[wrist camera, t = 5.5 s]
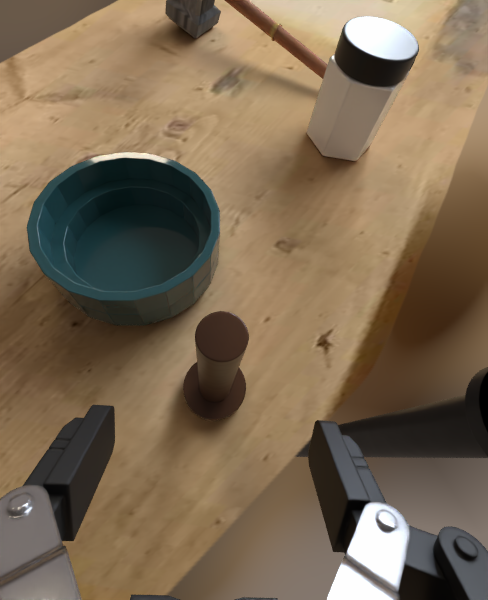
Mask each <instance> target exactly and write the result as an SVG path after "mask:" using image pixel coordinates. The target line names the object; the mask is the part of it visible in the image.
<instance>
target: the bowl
mask: <svg viewBox="0 0 488 600" xmlns="http://www.w3.org/2000/svg"><path fill="white" fill-rule="evenodd" d="M27 233H28V241H29V249H30V252H31V254H32V256H33V257H34V259H35V260H36V262H37V264H38V265H39V267H40V268H41V270H42V272H43V273H44V274H45V276H46V277H47V278H48V279H49V280H50V281H51V282H52V284H53V285H54V286H55V287H56V288H57V289H58V290H59V291H60V293H61V294H62V295H63V296H64V297H65V298H66V299H67V300H68V302H69V303H71V304H72V305H73V306H75V307H76V308H78V309H79V310H80V311H82V312H83V313H84V314H86V315H87V316H89V317H90V318H94V319H97V320H100V321H103V322H107V323H110V324H113V325H147V324H151V323H154V322H158V321H161V320H165V319H168V318H171V317H174V316H175V315H177V314H178V313H180V312H181V311H183V310H185V309H186V308H188V307H189V306H191V305H193V304H194V303H195V302H196V301H197V299H198V298H199V297H200V296H201V295H202V294H203V292H204V291H205V290H206V289H207V288H208V286H209V285H210V284H211V281H212V278H213V276H214V273H215V270H216V268H217V265H218V254H219V239H220V211H219V208H218V205H217V203H216V200H215V198H214V196H213V193H212V191H211V189H210V188H209V187H208V186H207V185H206V184H205V183H204V182H203V181H202V179H201V178H200V177H199V176H198V175H197V174H196V173H195V172H193V171H191V170H190V169H188V168H186V167H185V166H183V165H181V164H180V163H178V162H176V161H174V160H170V159H167V158H164V157H160V156H157V155H153V154H150V153H133V152H121V153H114V154H108V155H102V156H97V157H94V158H91V159H89V160H86V161H84V162H81V163H79V164H76V165H74V166H72V167H70V168H68V169H67V170H65V171H64V172H63V173H61V174H60V175H58V176H57V177H56V178H54V179H53V180H52V181H50V182H49V183H48V185H47V186H46V187H45V189H44V190H43V191H42V192H41V194H40V195H39V196H38V198H37V199H36V200H35V202H34V204H33V207H32V211H31V214H30V217H29V221H28V224H27Z"/></svg>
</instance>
